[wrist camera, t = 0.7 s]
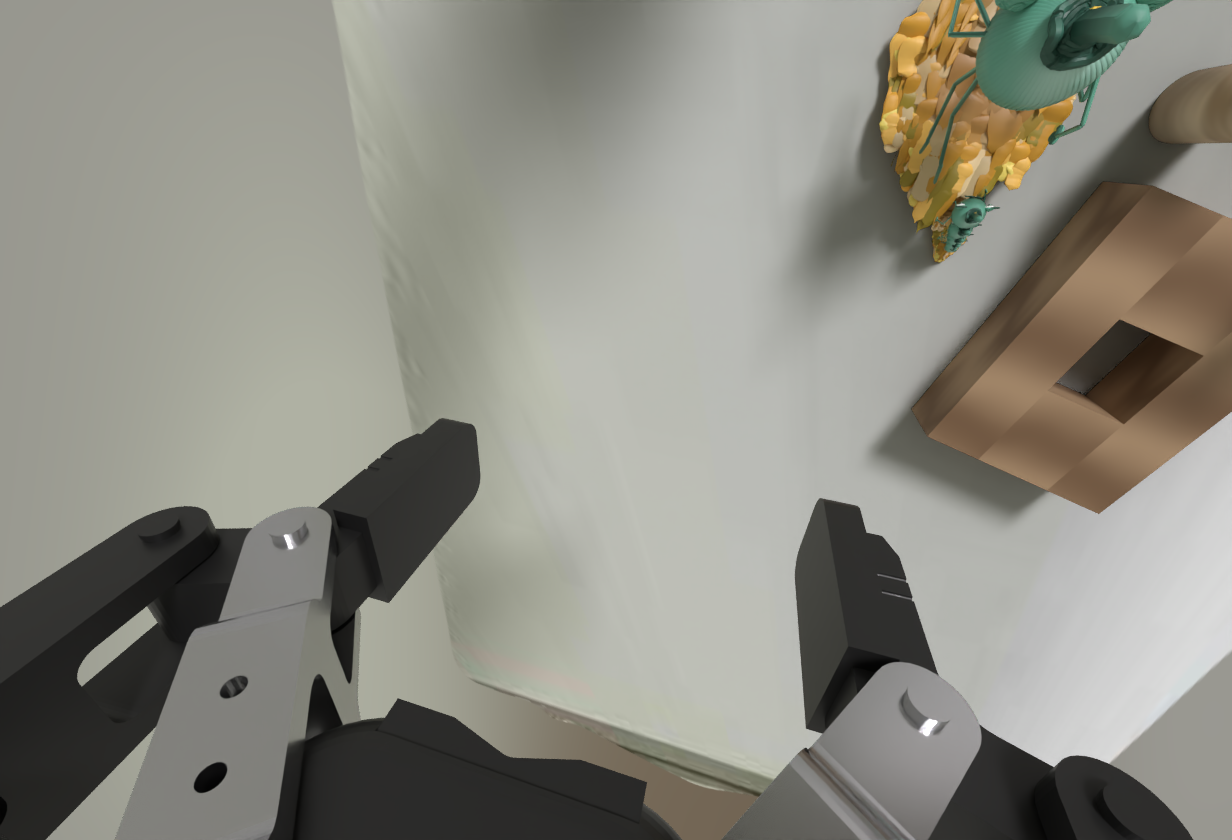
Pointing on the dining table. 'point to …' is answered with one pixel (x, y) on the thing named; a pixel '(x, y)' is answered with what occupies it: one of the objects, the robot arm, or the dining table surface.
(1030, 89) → the teal creature figurine
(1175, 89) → the short pin
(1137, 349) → the hole block
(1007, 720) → the dining table surface
